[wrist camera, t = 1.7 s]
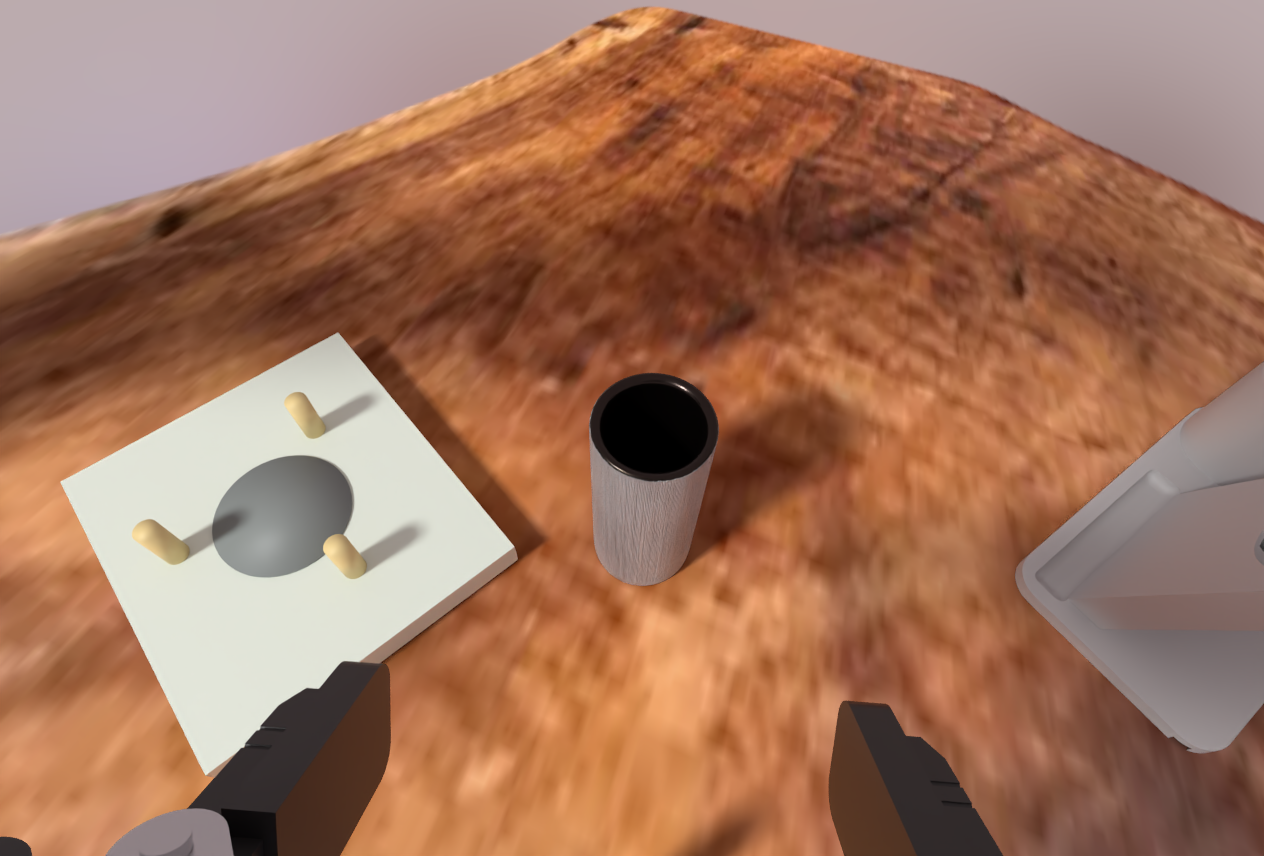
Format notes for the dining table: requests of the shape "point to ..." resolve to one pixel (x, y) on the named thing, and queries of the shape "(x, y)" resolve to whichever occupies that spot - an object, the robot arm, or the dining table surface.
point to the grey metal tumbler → (649, 474)
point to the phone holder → (1172, 573)
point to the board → (281, 541)
